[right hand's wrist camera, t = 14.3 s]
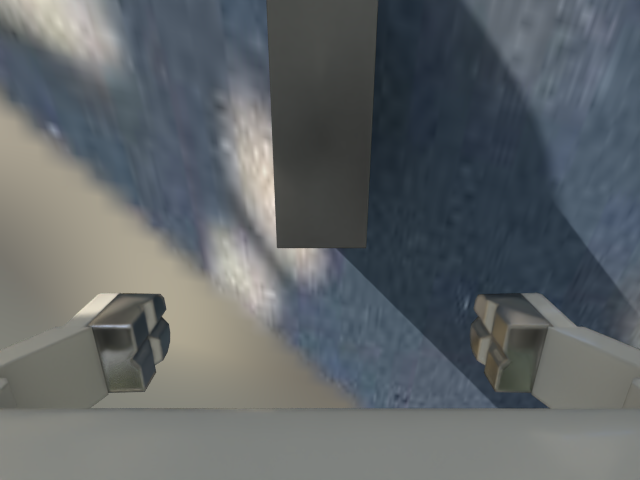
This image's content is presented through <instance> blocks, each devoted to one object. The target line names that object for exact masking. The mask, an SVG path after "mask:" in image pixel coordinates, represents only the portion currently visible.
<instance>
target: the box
mask: <svg viewBox="0 0 640 480" xmlns="http://www.w3.org/2000/svg"><path fill="white" fill-rule="evenodd" d="M377 14H378V0H267V24H268V47H269V70H270V94H271V117H272V141H273V164H274V187H275V211H276V234H277V248H366V240H367V219H368V199H369V178H370V158H371V137H372V117H373V96H374V76H375V55H376V35H377Z"/></svg>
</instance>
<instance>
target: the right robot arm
mask: <svg viewBox="0 0 640 480" xmlns="http://www.w3.org/2000/svg"><path fill="white" fill-rule="evenodd" d="M165 311H166V305H165V300H164V297H163V296H162V295H161V294H137V293H102V294H98V295H97V296H96V297H95V298H94V299H93V300H91V301H90V302H89V303H88V304H87V305H86V306H85V307H84V308H83V309H82V310H80V311H79V312H78V313H77V314H76V315H75V316H74V317H73V318H72V319H71V320H69V321H68V322H67V323H66V324H65V325H64V326H63V327H55V328H52V329H50V330H47V331H45V332H42V333H40V334H37V335H35V336H32V337H30V338H27V339H25V340H22V341H20V342H17V343H15V344H12V345H10V346H7V347H5V348H2V349H0V480H640V349H637V348H635V347H632V346H630V345H628V344H625V343H623V342H620V341H618V340H615V339H613V338H610V337H608V336H605V335H603V334H600V333H598V332H595V331H593V330H591V329H588V328H586V327H577V326H576V325H575V324H574V323H573V322H572V321H571V320H569V319H568V318H567V317H566V316H565V315H564V314H563V313H562V312H561V311H560V310H558V309H557V308H556V307H555V306H554V305H553V304H552V303H551V302H550V301H549V300H548V299H546V298H545V297H544V296H543V295H542V294H539V293H507V294H480V295H478V296H477V298H476V300H475V305H474V311H475V312H476V314H477V315H478V318H477V319H476V320H475V321H474V322H473V323H472V324H471V329H470V344H471V348H472V352H473V354H474V356H475V358H476V360H477V361H479V362H480V363H482V364H484V365H485V369H484V373H485V375H486V377H487V379H488V380H489V382H490V384H491V385H492V387H493V389H494V390H495V392H521V393H532V395H533V396H534V397H536V398H537V399H538V400H540V401H541V402H542V403H544V404H545V405H546V406H548V407H549V408H91V407H92V406H94V405H95V404H96V403H98V402H99V401H100V400H102V399H103V398H104V397H106V396H107V395H108V393H119V392H145V390H146V389H147V387H148V385H149V384H150V382H151V380H152V378H153V377H154V375H155V373H156V369H155V365H156V364H158V363H160V362H161V361H163V360H164V358H165V356H166V354H167V352H168V348H169V344H170V329H169V324H168V323H167V322H166V321H165V320H164V319H163V318H162V315H163V314H164V312H165Z"/></svg>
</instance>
